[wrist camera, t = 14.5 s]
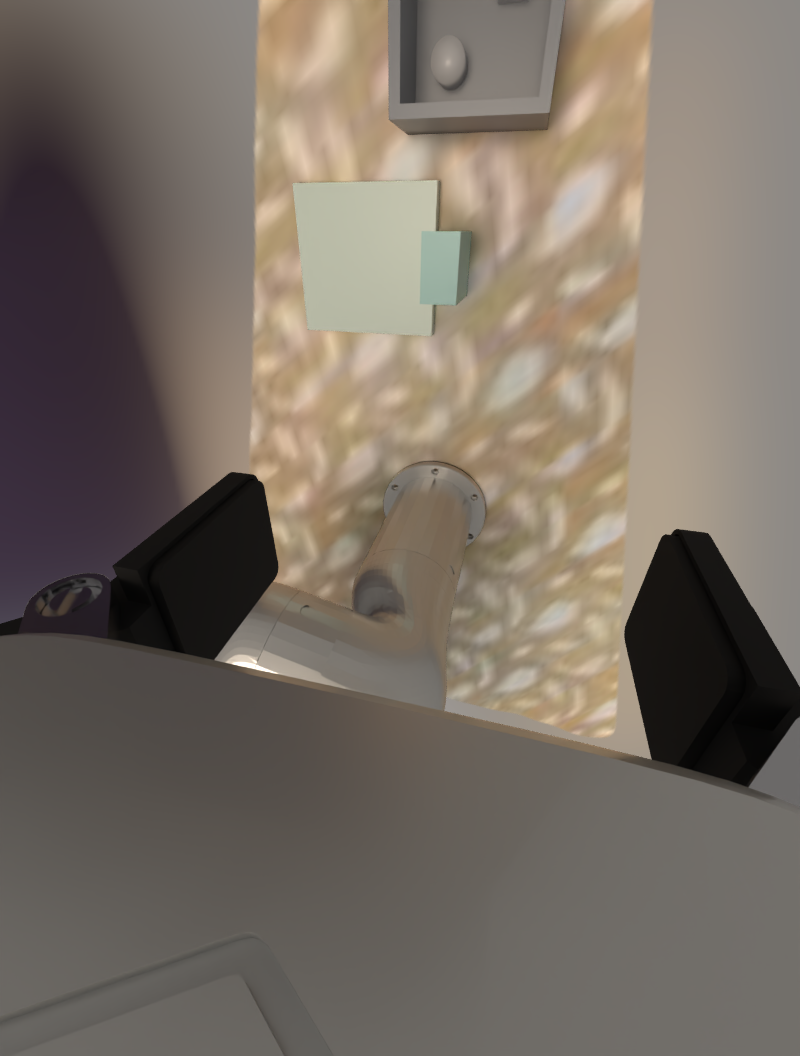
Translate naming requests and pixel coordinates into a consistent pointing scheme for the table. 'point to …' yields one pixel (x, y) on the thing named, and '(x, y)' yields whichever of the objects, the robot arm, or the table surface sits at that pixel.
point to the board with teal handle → (377, 256)
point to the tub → (472, 64)
